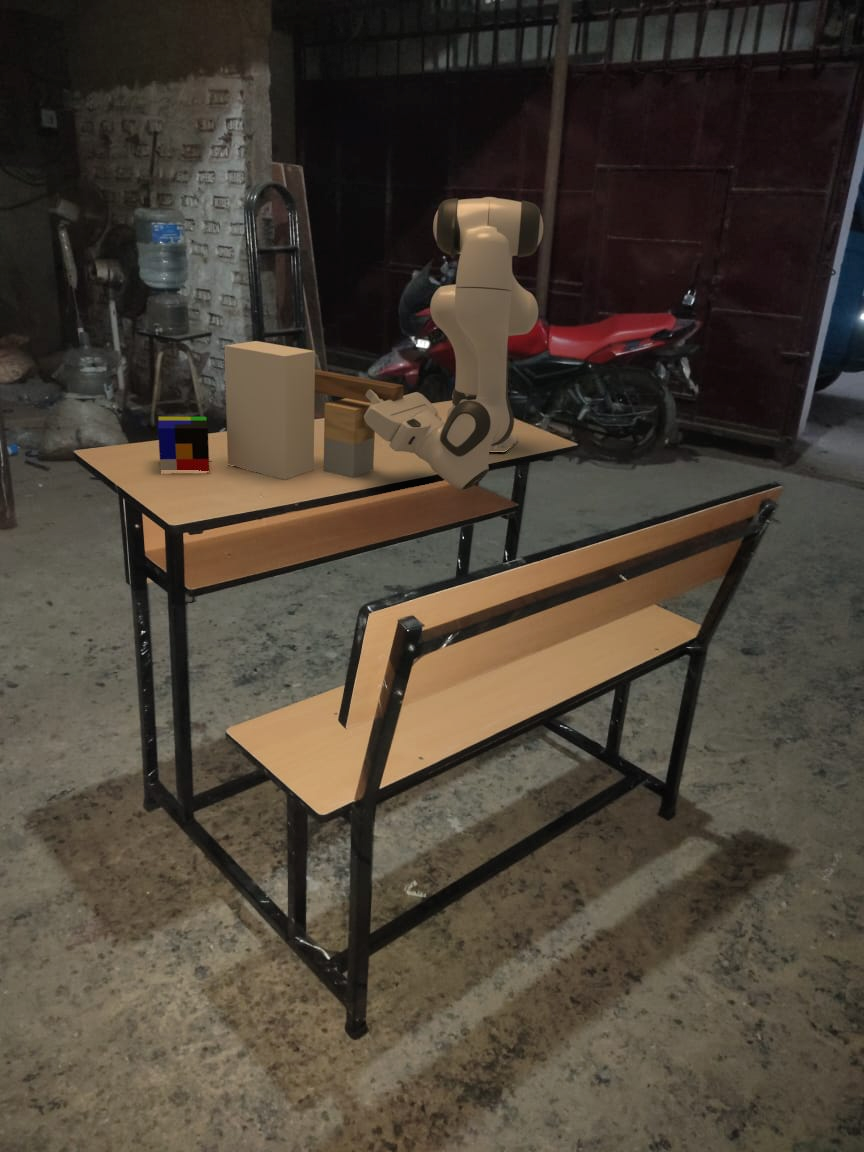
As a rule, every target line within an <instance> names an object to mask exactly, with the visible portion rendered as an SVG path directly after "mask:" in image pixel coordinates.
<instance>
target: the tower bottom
mask: <svg viewBox="0 0 864 1152" xmlns="http://www.w3.org/2000/svg"><path fill="white" fill-rule="evenodd" d="M374 453H375V438H372V439H369V440H366V441H363V442H360V443H357V444H350V443H345V442H341V441H336V440H332V439H327V438H324V437H323V471H324V472H328V473H333V474H336V475H340V476H343V477H344V476H345V477H347V478H348V477H349V478H352V479H354V478H356V477H359V476H362V475H364V474H366V472H367V473H370V472H371V470H372V471H373V470H374V459H375V457H374V455H375V454H374Z"/></svg>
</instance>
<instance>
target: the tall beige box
mask: <svg viewBox="0 0 864 1152" xmlns="http://www.w3.org/2000/svg"><path fill="white" fill-rule="evenodd" d="M315 370H316V351H315V350H311V349H305V348H299V347H293V346H287V345H281V344H275V343H270V342H265V341H259V340H254V341H253V340H252V341H247V342H246V341H245V342H240V343H234V344H226V345H224V374H225V377H224V378H225V402H226V404H225V405H226V406H225V407H226V408H225V409H226V437H227V438H226V439H227V441H226V442H227V445H226V446H227V465H228V464H230V465H234V466H237V467H241V468H244V469H248V470H252V471H255V472H254V473H256V472H258V473H257V474H260V473H261V475H264V476H267V477H268V476H269V477H272V478H277V479H279V480H280V479H281V480H285V481H286V480H289V479H291V478H294V477H298V476H300V475H303V474H306V473H308V472H311V471H314V470H315V468H314V466H315V394H316V392H315ZM244 469H243V470H244ZM248 470H247V471H248ZM252 471H251V472H252Z"/></svg>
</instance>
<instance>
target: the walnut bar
mask: <svg viewBox="0 0 864 1152" xmlns="http://www.w3.org/2000/svg"><path fill="white" fill-rule="evenodd" d="M404 387H405V386H404V385H403V384H397V383H392V382H386V381H381V380H377V379H376V380H375V379H370V378H364V377H360V376H359V377H358V376H353V375H347V374H342V373H337V372H335V373H334V372H331V371H326V370H320V369H315V394H316V393H317V394H322V395H326V396H327V395H328V396H333V397H338V398H342V399H345V398H347V399H352V400H357V401H362V402H367V403H371V401H370V400H369V399H368V398H367V397H366V395H365V394H366V392H367V391H368V390H370V389H374V390H375V391H376V392H377V393H378V394H377V396H378V397H379V399H382V400H383V401H387V400H392V401H396V400H400V399H403V396H404Z"/></svg>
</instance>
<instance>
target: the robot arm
mask: <svg viewBox="0 0 864 1152" xmlns="http://www.w3.org/2000/svg"><path fill="white" fill-rule="evenodd" d="M433 218H434V219H433V224H432V225H433V226H432V229H433V231H432V232H433V237H434V240H435V241H436V246H437V247H438V248H439V249H440V250H441V251H442V253H444V254H447V255H448V256H449V255H450V258H451V259H453V260H454V259H455V255H459V259H458V264H457V271H456V279H455V284H448V285H441V286H440V287H438V288H437V290H435V292H434V293H433V294H432V295H433V296H432V297H431V300H430V304H429V306H430V308H429V311H430V315H431V319H432V321H433V323H434V324H435V325H436V327H438V328H439V329H440V330H441V332H443V333H444V334H445V336H446V337H447V338H448V340H449V342H450V344H451V346H452V348H453V353H454V358H455V386H454V388H453V390H452V393H451V394H452V395H451V399H452V401H451V403H452V406H451V407H450V408H448V409H447V411H446V418H445V423H444V421H443V420H442V417H441V416H440V415H439V414H438V413H439V411H438V409H437V408H436V407H435V405H433V403H432V402H431V401H429V399H427V397H425V395H424V394H422V393H420V392H418V391H415V392H412V393H408V394H405V395H404V394H403V399H400V400H396V401H392V400H387V401H383V400H382V399H379V397H378V396H377V394H378V393H377V392H376V391H375V390H374V389H370V390H368V391H367V392H366V394H365V395H366V397H367V398H368V399H369V400H370V401H371V404H372V405H370V407H369V408H368V410H367V411H366V413H365V415H364V420H365V422H366V423H367V424H368V426H369V427H370V428H372V429H373V430H374V431H375V433H376V434H377V435H378V436H379V437H381V439H382V440H385V442H389V446H388V447H389V448H391V449H392V450H393V451H395V452H403V453H404V452H406V453H410V454H413V453H414V455H416V456H417V457H418V458H419V459H421V460H423V461H425V462H426V463H427V464H428V465H429V467H430V468H431V470H432V471H433V472H435V473H436V474H437V475H438V476H439V477H440V478H442V479H443V480H444V481H446V483H448V484H449V485H451V486H453V487H454V488H456V489H458V490H467V489H470V488H472V487H474V486H475V485H476V484H478V483H479V482H480V481H482V479H484V478H485V477H486V476H487V474H488V472H489V471H490V468H489V458H490V453H489V452H490V451H505V450H507V449H508V448H509V447H511V446H512V445H513V444H514V443H515V442H516V441H517V440H518V441H519V437H518V436H516V435H513V434H512V432H513V430H514V427H515V417H514V412H513V409H512V407H511V406H512V405H511V403H510V401H509V390H508V389H509V387H508V386H509V385H508V383H509V382H508V381H509V377H508V376H509V337H511V336H512V337H513V336H520V335H527V334H529V333H530V332H531V331H532V330H533V328H534V327H535V325H536V323H537V321H538V317H539V306H538V302H537V299H536V297H535V296H534V295H533V293H531V292H530V291H528V290H527V289H525V288H524V287H523V286H522V285H521V284H519V282H518V281H517V279H516V278H515V276H514V273H513V257H514V256H517V258H522V257H529V256H532V255H533V254H535V252H536V251H537V250H538V247H539V245H540V243H541V241H542V238H543V234H544V222H543V221H544V220H543V217H542V214H541V209H540V208H539V207H538V205H536V203H533V202H531V201H527V200H521V201H517V200H512V199H505V198H499V197H498V198H497V197H493V196H484V197H481V198H465V199H459V198H458V197H456V198H450V199H445V200H443V201H442V202H441V203H440V204H439V205H438V209H437V211H436V213H435V215H434V217H433ZM518 441H517V442H518ZM517 442H516V443H517ZM516 443H515V444H516ZM515 444H514V445H515ZM514 445H513V446H514ZM513 446H512V447H513ZM512 447H511V448H512Z"/></svg>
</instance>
